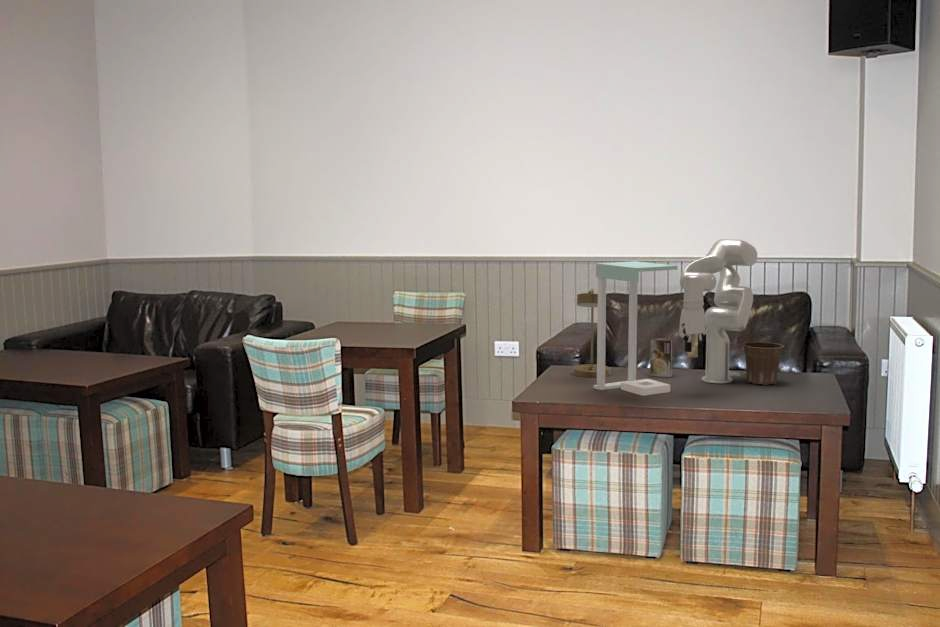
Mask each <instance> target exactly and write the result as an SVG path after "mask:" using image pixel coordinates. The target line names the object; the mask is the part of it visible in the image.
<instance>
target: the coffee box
mask: <svg viewBox="0 0 940 627" xmlns="http://www.w3.org/2000/svg"><path fill="white" fill-rule="evenodd" d="M649 365H650V368H649V369H650V372H649V373H650V375H649V376H650V377H658V378H660V377H661V378H662V377H663V378H671V377H672V376H673V339H672V338H661V337H659V338H658V337H657V338H656V337H655V338H653V337H652V338H651V339H650V364H649Z"/></svg>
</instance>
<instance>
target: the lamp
mask: <svg viewBox="0 0 940 627" xmlns="http://www.w3.org/2000/svg"><path fill="white" fill-rule="evenodd" d="M576 306H578V307H584V308H590V311H591V312H590V319H591V320H590V363H589V364H587V363H586V364H585V363H584V364H577V365H573V366H571V375H573V376H575V377H579V378H580V377H582V378H597V364H594V316H595V314H594V308H598V293H595V292H594V288H590V290H588V292H585V293H584V292H583V293H578V294H576ZM610 375H611V367H610V366H608V365H605V377H608V376H610Z"/></svg>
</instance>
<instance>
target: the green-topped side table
mask: <svg viewBox="0 0 940 627" xmlns="http://www.w3.org/2000/svg"><path fill="white" fill-rule="evenodd" d="M672 270H673V271H674V270H678V265H676V264H675V265H673V264H663V263H656V262H655V263H654V262H644V261H636V260H634V261H621V262H620V261H617V262H599V263H596V264H595V278H597V294H598V307H597V323H596V324H597V325H596V326H597V329H596V336H597V337H596V344H597V345H596V365H597V377H596V384H593V385H592V386H593V387H592V388H593V389H596V390H597V391H605V390H612V389H613V390H614V389H621V382H627V381H635V380H637V343H638V342H637V341H638V340H637V338H638V336H637V335H638V334H637V333H638V283H639V278H640V276H639V275H640V274H639V273H642V272H661V271H672ZM607 279H608V280H615V281H624V282H628V336H627V337H628V341H627V342H628V344H627V346H628V349H627V350H628V351H627V356H628V357H627V380H625V381H615V382H609V383H608V382H607V383H606V376H605V366H606V347H607V344H606V343H607V342H606V336H607V332H606V330H607V326H606V325H607V324H606V323H607Z"/></svg>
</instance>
